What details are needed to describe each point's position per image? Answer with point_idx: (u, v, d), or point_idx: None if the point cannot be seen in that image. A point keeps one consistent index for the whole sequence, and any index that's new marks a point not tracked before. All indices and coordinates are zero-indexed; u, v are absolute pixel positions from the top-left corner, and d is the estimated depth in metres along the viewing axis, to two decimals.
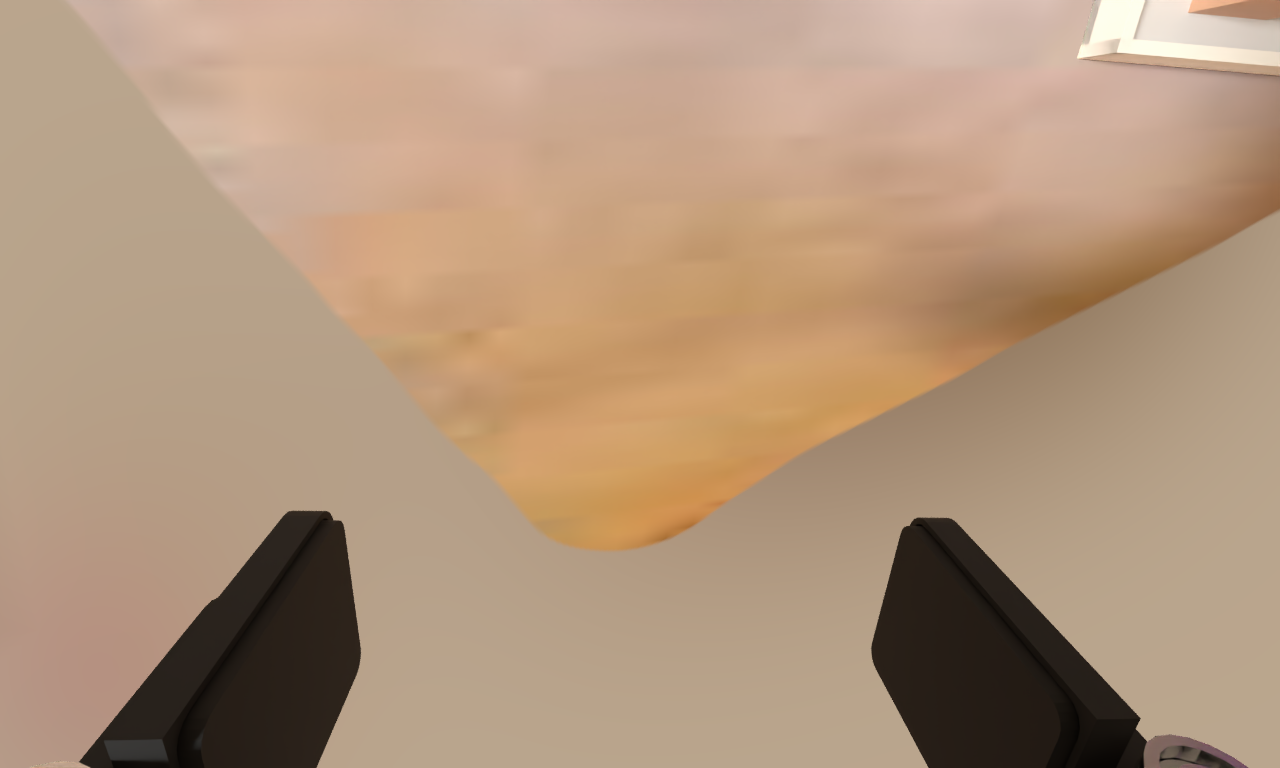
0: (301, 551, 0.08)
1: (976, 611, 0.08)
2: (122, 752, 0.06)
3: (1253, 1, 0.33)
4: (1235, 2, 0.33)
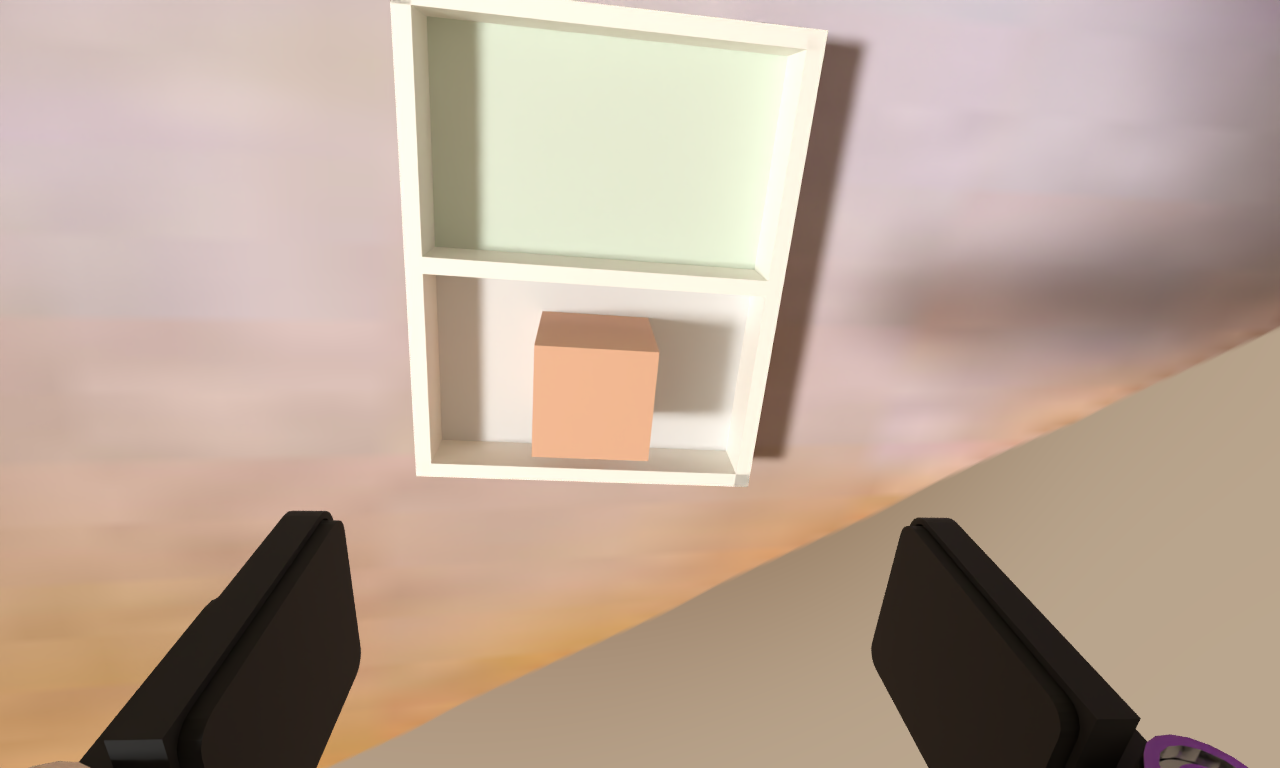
0: (301, 551, 0.08)
1: (976, 611, 0.08)
2: (122, 752, 0.06)
3: None
4: None
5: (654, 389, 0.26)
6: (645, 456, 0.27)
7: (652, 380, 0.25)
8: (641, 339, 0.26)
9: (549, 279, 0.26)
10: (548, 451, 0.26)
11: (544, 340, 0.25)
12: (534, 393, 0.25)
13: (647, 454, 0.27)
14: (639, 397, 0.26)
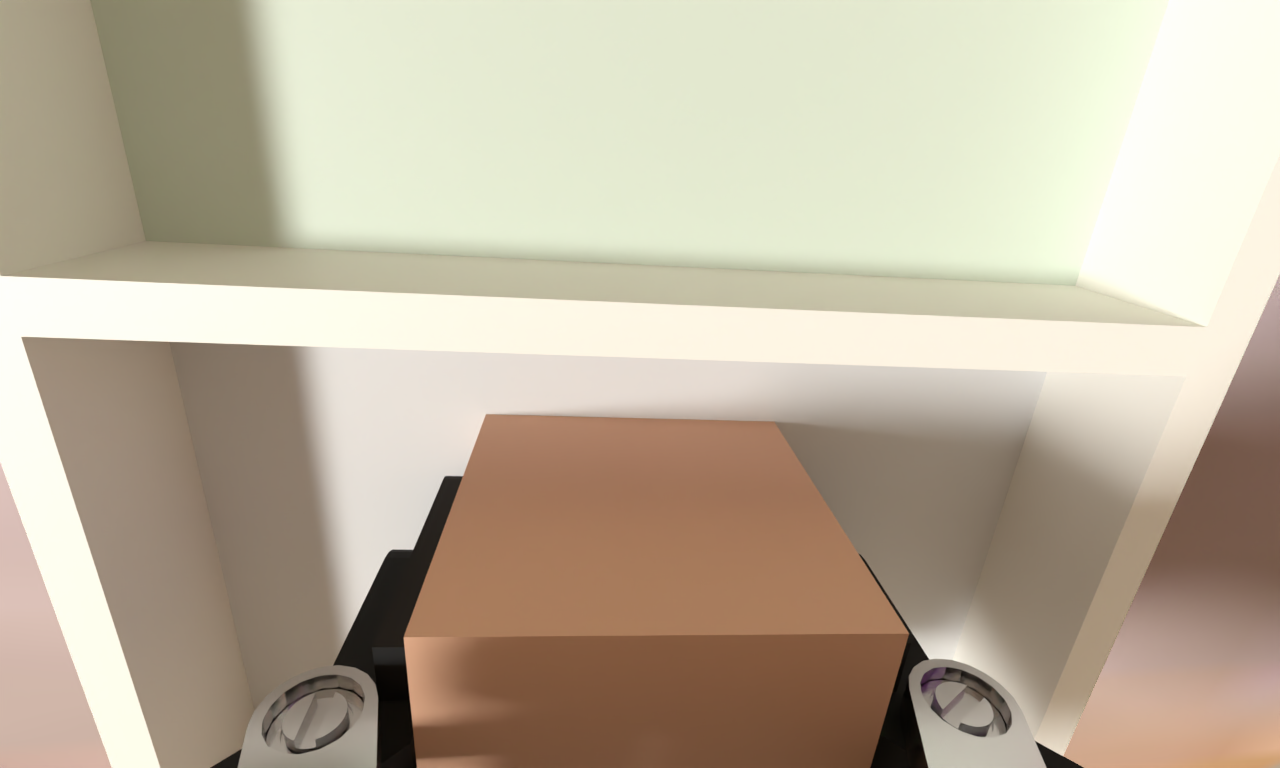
0: None
1: None
2: (385, 658, 0.07)
3: None
4: None
5: (872, 747, 0.07)
6: None
7: (868, 720, 0.07)
8: (804, 542, 0.08)
9: (483, 342, 0.08)
10: None
11: (456, 593, 0.06)
12: None
13: None
14: None
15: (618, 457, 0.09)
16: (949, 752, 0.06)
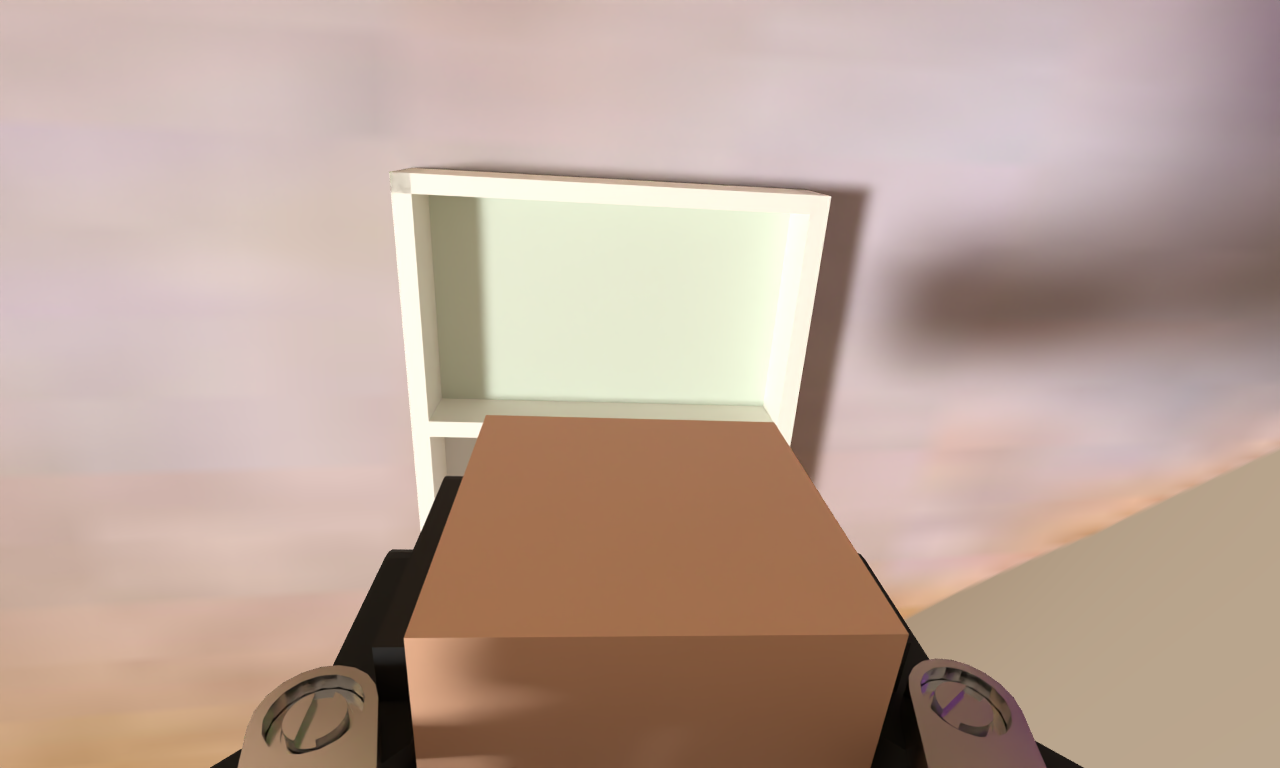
0: None
1: None
2: (384, 658, 0.07)
3: None
4: None
5: (872, 747, 0.07)
6: None
7: (868, 721, 0.07)
8: (804, 542, 0.08)
9: None
10: None
11: (456, 593, 0.06)
12: None
13: None
14: None
15: (618, 458, 0.09)
16: (949, 752, 0.06)
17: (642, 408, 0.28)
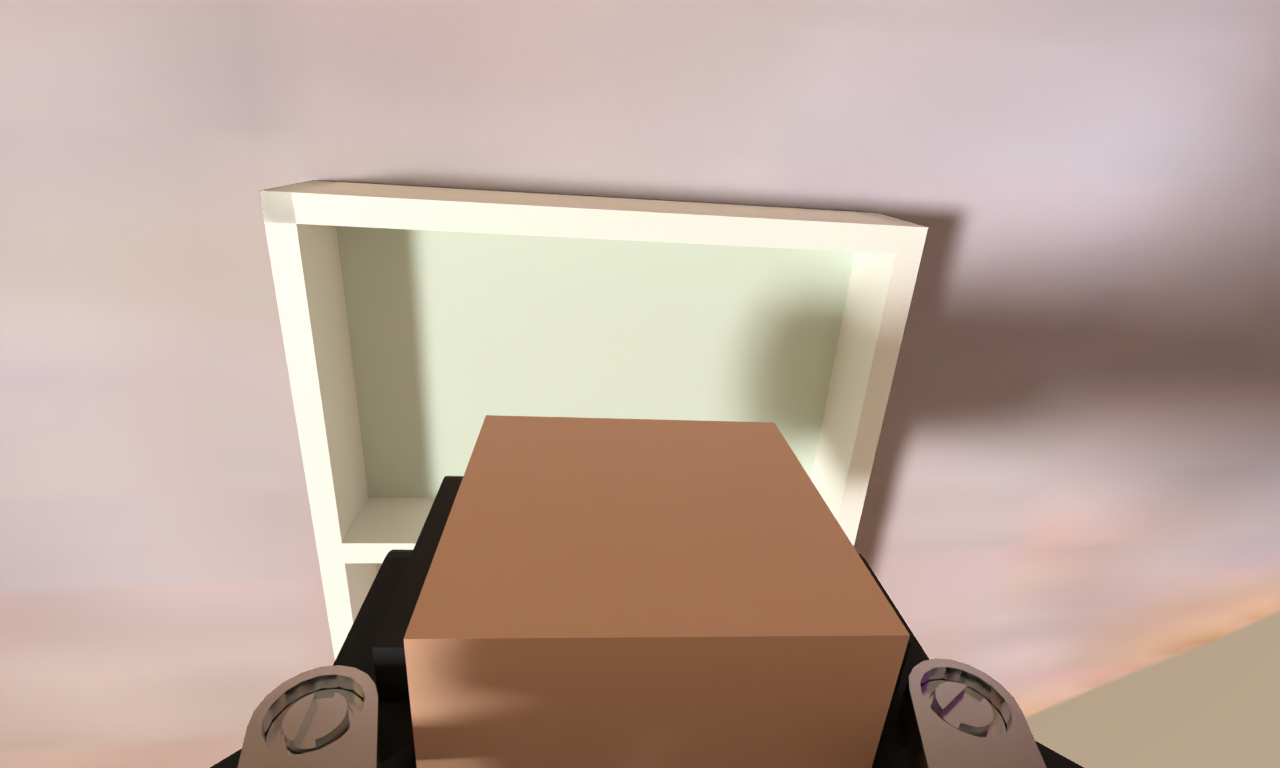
0: None
1: None
2: (384, 658, 0.07)
3: None
4: None
5: (873, 748, 0.07)
6: None
7: (869, 722, 0.07)
8: (804, 543, 0.08)
9: None
10: None
11: (456, 594, 0.06)
12: None
13: None
14: None
15: (618, 458, 0.09)
16: (949, 752, 0.06)
17: None
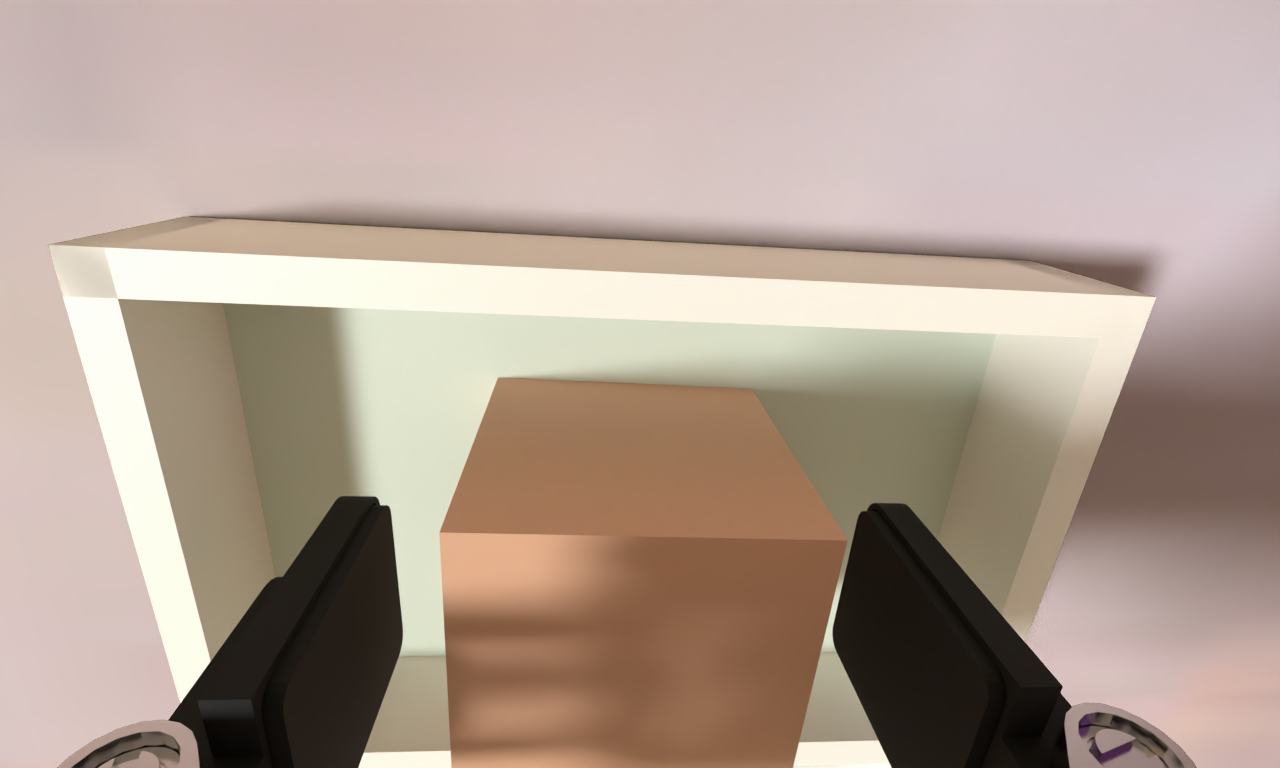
0: (355, 533, 0.09)
1: (920, 590, 0.09)
2: (213, 712, 0.06)
3: None
4: None
5: (820, 641, 0.08)
6: None
7: (816, 617, 0.08)
8: (768, 476, 0.09)
9: None
10: None
11: (479, 505, 0.08)
12: (451, 665, 0.08)
13: None
14: (773, 662, 0.08)
15: (614, 412, 0.11)
16: None
17: None
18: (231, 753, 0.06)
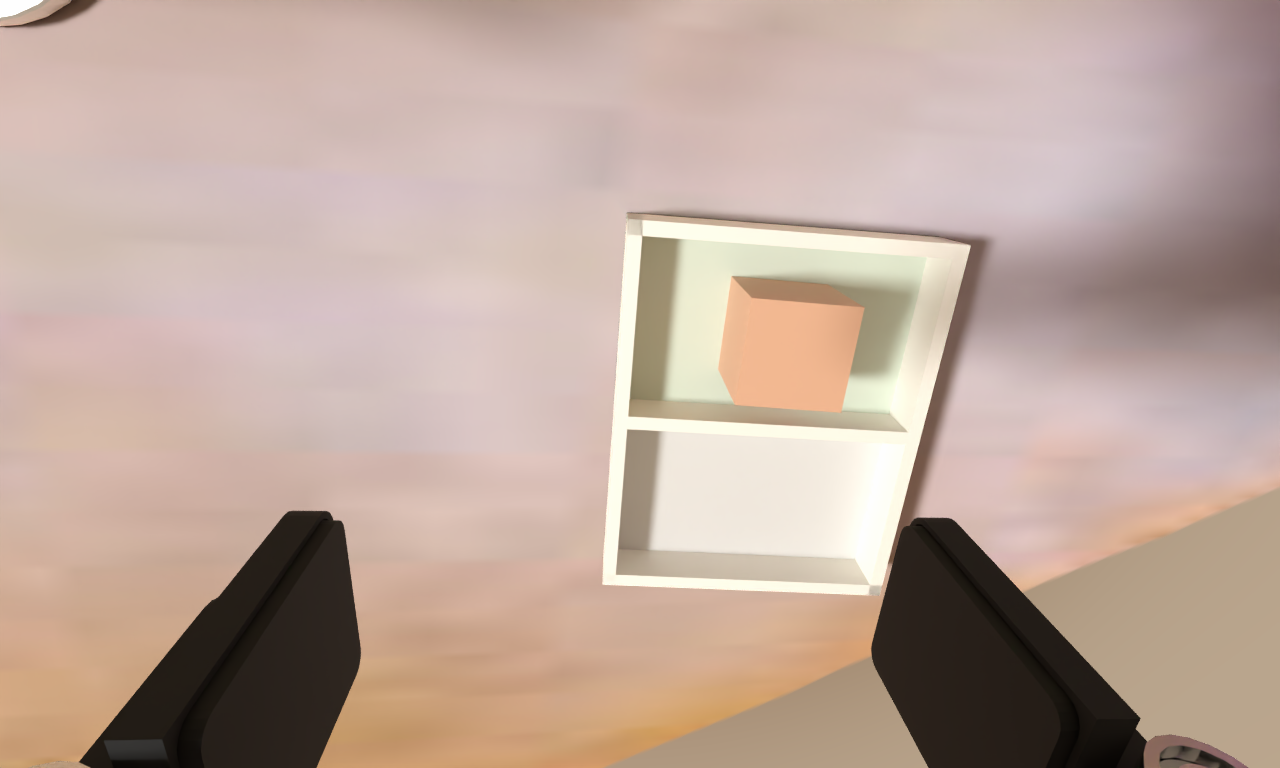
0: (301, 551, 0.08)
1: (976, 611, 0.08)
2: (122, 752, 0.06)
3: None
4: (727, 387, 0.30)
5: (855, 343, 0.28)
6: (839, 408, 0.29)
7: (854, 334, 0.27)
8: (839, 298, 0.28)
9: (728, 432, 0.32)
10: (751, 400, 0.28)
11: (757, 295, 0.27)
12: (745, 344, 0.27)
13: (841, 406, 0.29)
14: (841, 350, 0.28)
15: (780, 285, 0.30)
16: None
17: (792, 412, 0.33)
18: None
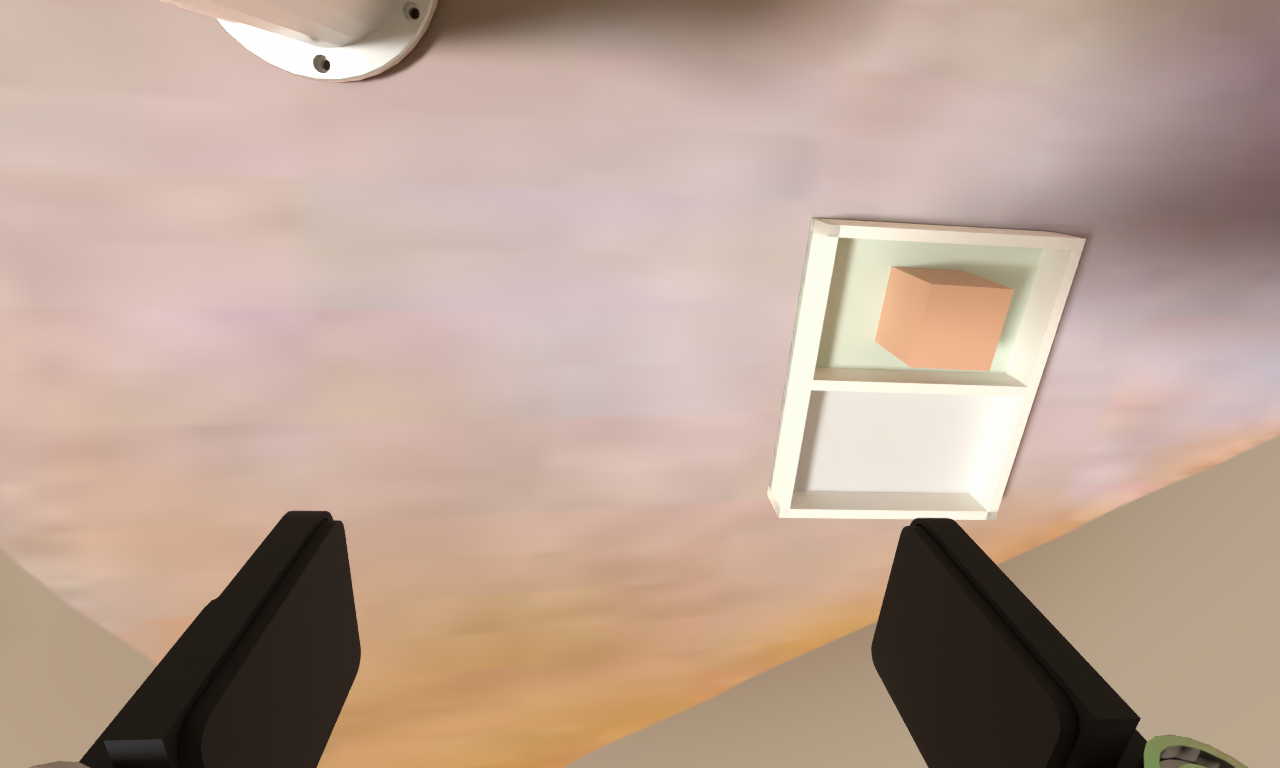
0: (301, 551, 0.08)
1: (976, 611, 0.08)
2: (122, 752, 0.06)
3: None
4: (893, 354, 0.39)
5: (1005, 316, 0.36)
6: (988, 367, 0.37)
7: (1005, 310, 0.36)
8: (988, 282, 0.37)
9: (888, 390, 0.40)
10: (923, 363, 0.37)
11: (932, 282, 0.35)
12: (923, 319, 0.36)
13: (990, 366, 0.37)
14: (994, 322, 0.36)
15: (935, 273, 0.38)
16: None
17: (931, 374, 0.42)
18: None
